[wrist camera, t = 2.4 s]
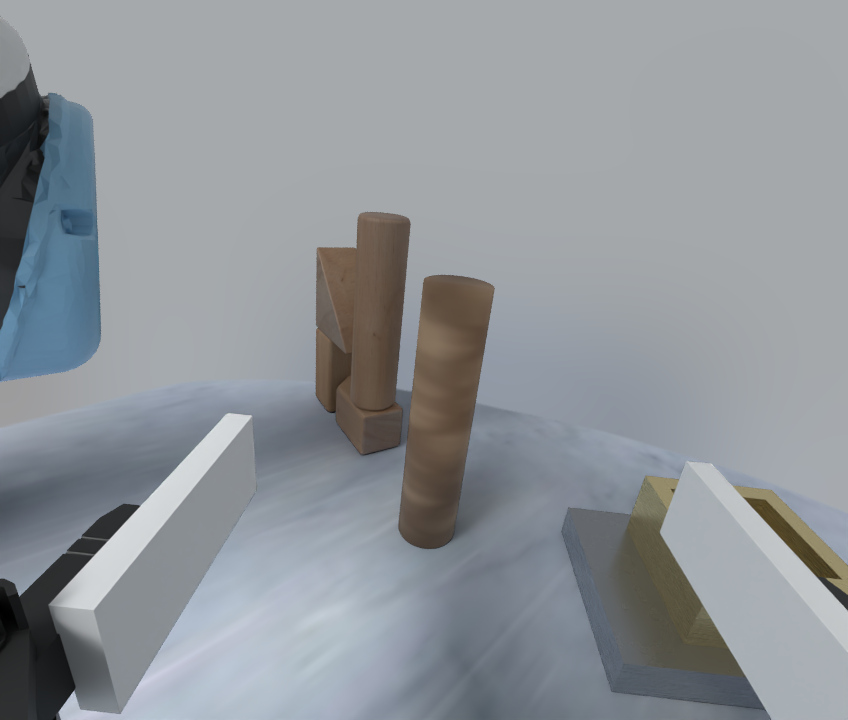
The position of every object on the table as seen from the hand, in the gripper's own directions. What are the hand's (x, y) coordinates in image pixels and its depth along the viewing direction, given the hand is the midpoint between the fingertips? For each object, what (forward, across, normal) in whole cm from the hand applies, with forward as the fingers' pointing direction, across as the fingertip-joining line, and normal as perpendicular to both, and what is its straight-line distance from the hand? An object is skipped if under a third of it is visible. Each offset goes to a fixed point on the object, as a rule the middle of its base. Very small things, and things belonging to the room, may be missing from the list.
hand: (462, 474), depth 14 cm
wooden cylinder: (+11, 0, -12) cm, 17 cm away
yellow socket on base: (+7, +16, -13) cm, 21 cm away
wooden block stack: (+23, -7, -12) cm, 28 cm away
